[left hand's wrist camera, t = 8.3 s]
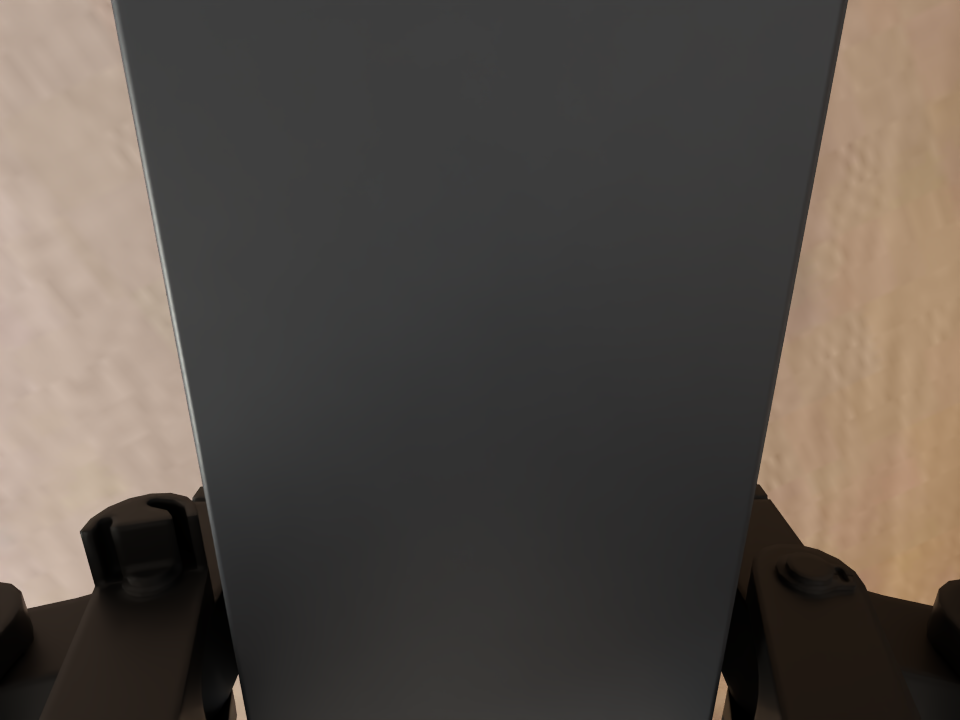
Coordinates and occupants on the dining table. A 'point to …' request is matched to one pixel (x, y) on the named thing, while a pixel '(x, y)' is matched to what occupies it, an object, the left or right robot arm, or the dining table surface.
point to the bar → (479, 332)
